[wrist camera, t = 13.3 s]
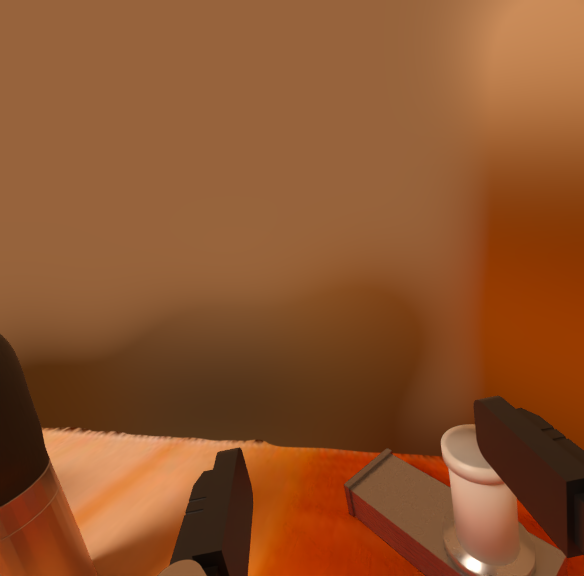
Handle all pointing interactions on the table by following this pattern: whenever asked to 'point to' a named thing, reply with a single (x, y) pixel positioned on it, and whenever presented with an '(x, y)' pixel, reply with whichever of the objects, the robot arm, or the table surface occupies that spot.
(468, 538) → the white flanged cylinder
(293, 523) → the table surface
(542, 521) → the robot arm
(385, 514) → the grey soap dish block
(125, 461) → the table surface
